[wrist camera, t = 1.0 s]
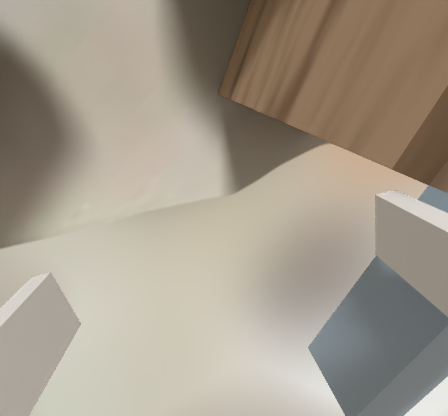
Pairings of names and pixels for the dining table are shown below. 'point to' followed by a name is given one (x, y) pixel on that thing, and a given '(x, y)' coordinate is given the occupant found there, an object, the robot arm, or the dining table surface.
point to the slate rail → (384, 341)
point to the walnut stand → (352, 76)
